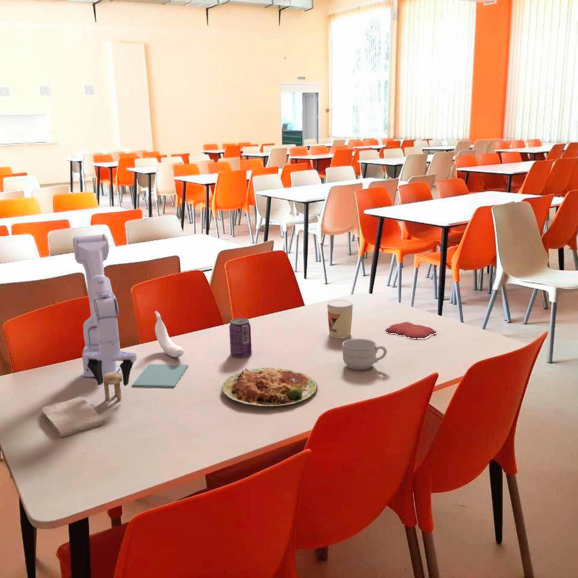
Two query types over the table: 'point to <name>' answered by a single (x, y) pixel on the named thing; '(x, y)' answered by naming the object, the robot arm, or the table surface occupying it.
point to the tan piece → (110, 380)
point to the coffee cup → (340, 318)
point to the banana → (166, 339)
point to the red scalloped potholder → (410, 330)
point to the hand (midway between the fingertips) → (113, 384)
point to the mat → (160, 375)
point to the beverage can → (240, 337)
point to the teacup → (361, 353)
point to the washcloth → (71, 416)
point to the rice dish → (268, 386)
